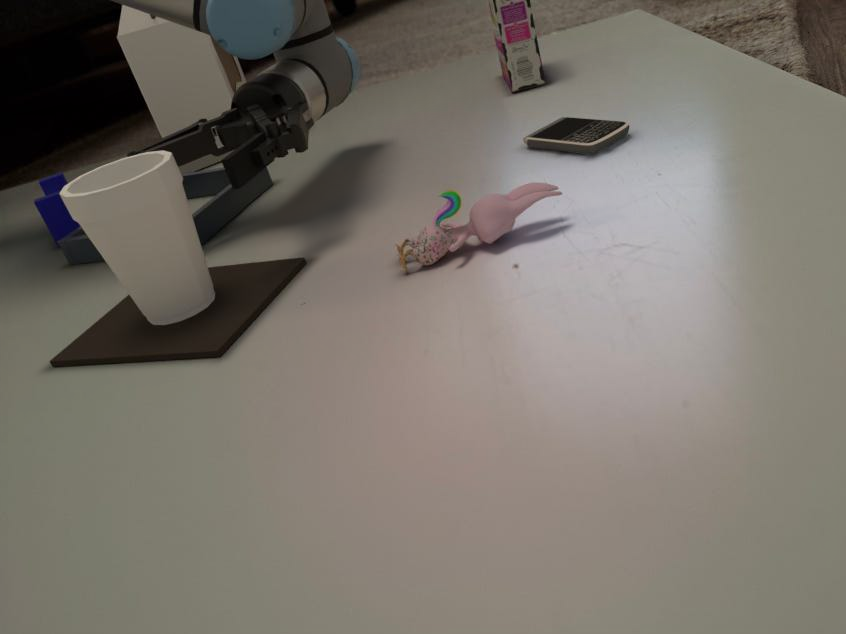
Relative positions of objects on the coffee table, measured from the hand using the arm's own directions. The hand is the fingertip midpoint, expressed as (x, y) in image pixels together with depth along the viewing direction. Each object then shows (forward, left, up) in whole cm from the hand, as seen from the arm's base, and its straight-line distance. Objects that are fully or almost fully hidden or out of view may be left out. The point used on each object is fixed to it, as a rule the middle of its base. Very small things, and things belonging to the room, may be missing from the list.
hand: (168, 183), depth 76 cm
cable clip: (-35, +21, -10) cm, 42 cm away
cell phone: (+31, +26, -10) cm, 42 cm away
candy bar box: (+18, +55, -10) cm, 58 cm away
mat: (0, -5, -10) cm, 12 cm away
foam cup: (0, -5, -10) cm, 11 cm away
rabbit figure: (+27, +3, -10) cm, 29 cm away
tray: (-17, +18, -10) cm, 26 cm away
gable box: (-44, +68, -10) cm, 81 cm away
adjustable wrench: (-25, +41, -10) cm, 49 cm away
